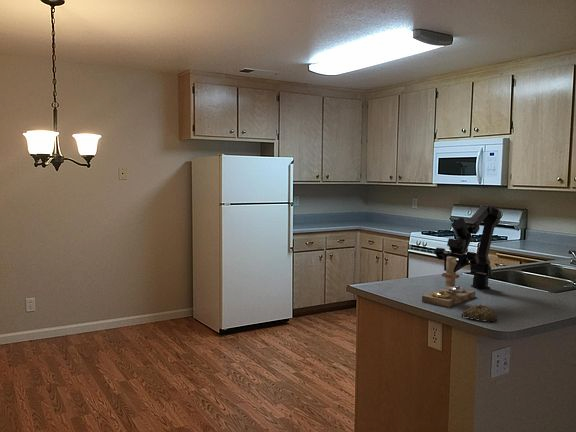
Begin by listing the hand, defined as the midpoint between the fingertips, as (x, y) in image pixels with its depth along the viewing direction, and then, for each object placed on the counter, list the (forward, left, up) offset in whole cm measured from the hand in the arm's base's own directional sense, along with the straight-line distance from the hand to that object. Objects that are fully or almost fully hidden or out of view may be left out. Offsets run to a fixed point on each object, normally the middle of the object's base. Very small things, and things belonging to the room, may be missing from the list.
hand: (449, 271), depth 216 cm
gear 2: (-8, -4, -10) cm, 13 cm away
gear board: (-1, -1, -12) cm, 13 cm away
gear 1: (+6, +3, -10) cm, 12 cm away
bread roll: (+5, +25, -13) cm, 29 cm away
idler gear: (-1, -1, -7) cm, 7 cm away
